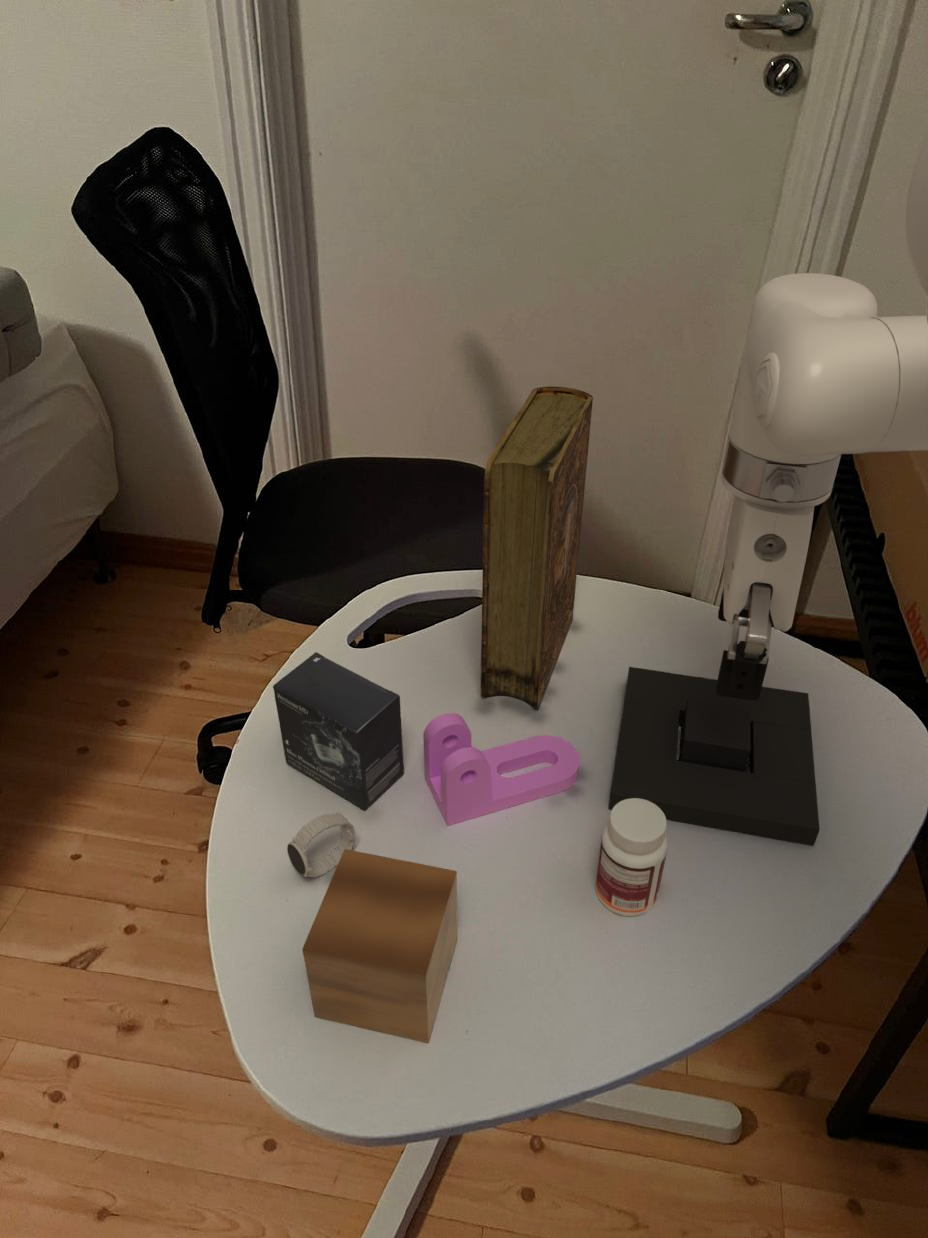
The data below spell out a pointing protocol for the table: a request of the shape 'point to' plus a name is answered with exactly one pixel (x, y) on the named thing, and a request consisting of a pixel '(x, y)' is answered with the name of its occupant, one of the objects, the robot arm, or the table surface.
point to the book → (532, 541)
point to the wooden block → (383, 945)
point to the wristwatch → (311, 831)
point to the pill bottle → (632, 857)
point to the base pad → (713, 796)
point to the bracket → (491, 770)
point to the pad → (715, 734)
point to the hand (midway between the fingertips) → (736, 656)
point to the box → (340, 729)
